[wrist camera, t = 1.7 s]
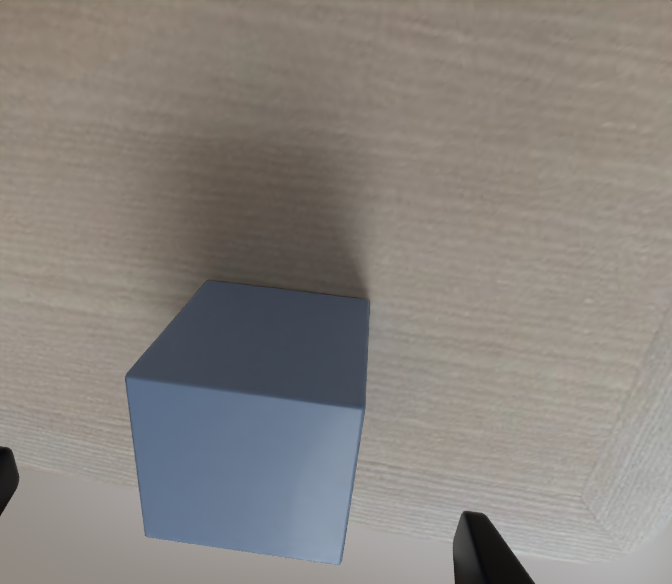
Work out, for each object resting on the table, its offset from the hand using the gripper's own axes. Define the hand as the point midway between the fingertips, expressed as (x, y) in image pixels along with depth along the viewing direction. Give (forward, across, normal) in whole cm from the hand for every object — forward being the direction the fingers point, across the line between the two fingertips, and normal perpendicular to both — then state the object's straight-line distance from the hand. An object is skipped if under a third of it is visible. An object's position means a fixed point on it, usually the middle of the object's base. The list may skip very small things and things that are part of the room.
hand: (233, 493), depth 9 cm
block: (+5, 0, 0) cm, 5 cm away
